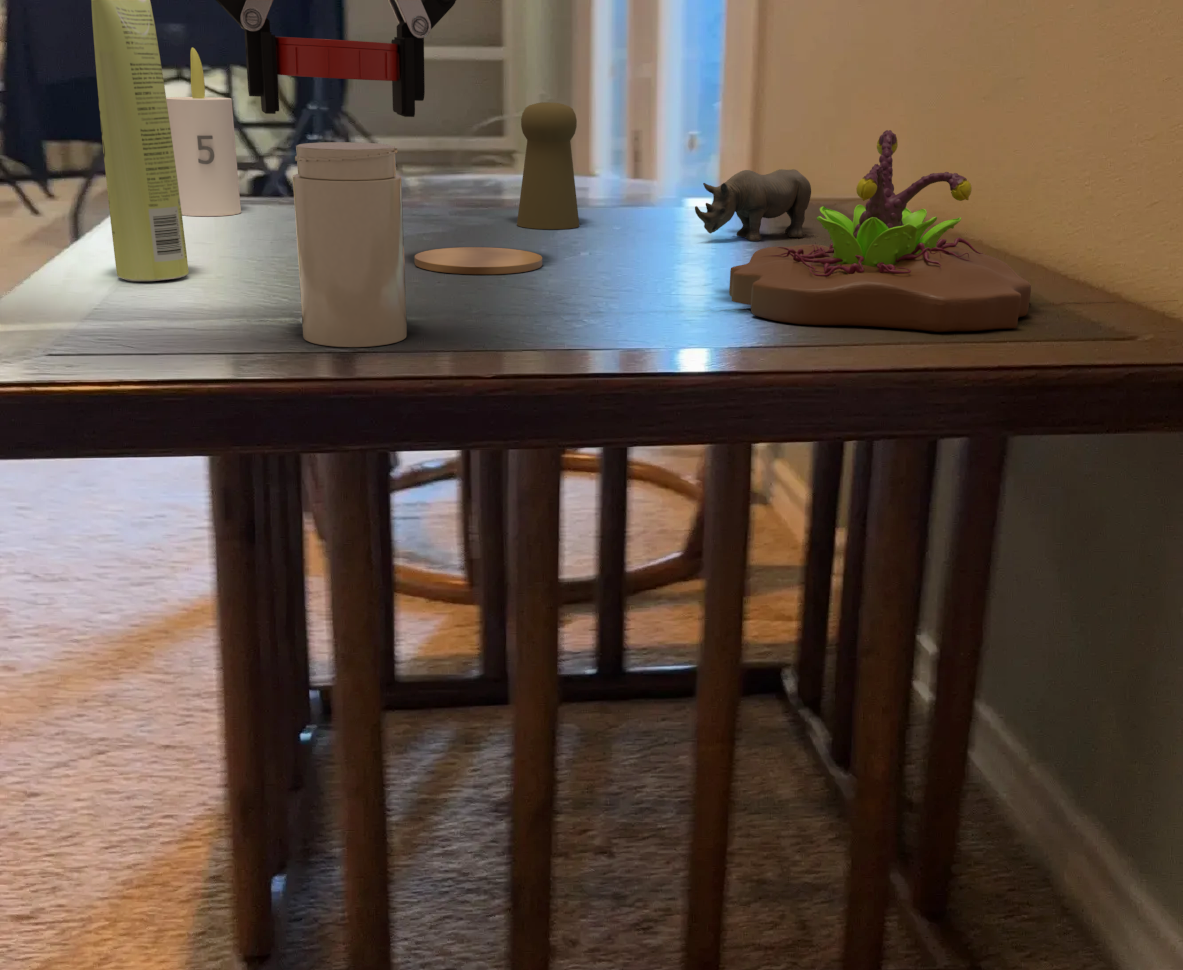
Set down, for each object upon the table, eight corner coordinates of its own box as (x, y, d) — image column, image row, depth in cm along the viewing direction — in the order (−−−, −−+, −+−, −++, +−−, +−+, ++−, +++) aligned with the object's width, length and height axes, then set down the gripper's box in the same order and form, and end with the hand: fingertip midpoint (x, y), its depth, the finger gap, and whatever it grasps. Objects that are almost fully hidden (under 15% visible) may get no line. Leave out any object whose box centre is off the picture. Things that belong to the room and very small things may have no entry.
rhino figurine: (677, 239, 116) (680, 170, 114) (790, 231, 124) (795, 165, 121) (705, 245, 113) (709, 174, 111) (820, 236, 121) (826, 169, 118)
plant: (1011, 287, 96) (1034, 128, 92) (1039, 340, 79) (1070, 146, 74) (744, 272, 100) (754, 119, 96) (714, 320, 82) (725, 134, 78)
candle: (177, 217, 123) (160, 46, 117) (172, 209, 129) (155, 46, 123) (245, 215, 125) (231, 48, 119) (237, 207, 131) (223, 47, 125)
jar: (304, 348, 72) (291, 149, 68) (302, 327, 78) (289, 141, 73) (411, 345, 74) (405, 150, 69) (402, 325, 79) (395, 142, 75)
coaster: (421, 275, 96) (421, 267, 95) (408, 255, 105) (408, 247, 104) (553, 273, 98) (553, 265, 98) (530, 253, 107) (530, 246, 106)
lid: (387, 79, 74) (387, 44, 73) (408, 81, 68) (408, 43, 67) (268, 73, 72) (266, 37, 71) (279, 75, 66) (277, 36, 65)
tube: (106, 273, 93) (68, -25, 86) (176, 268, 96) (145, -22, 88) (127, 285, 89) (90, -28, 81) (200, 280, 92) (170, -24, 84)
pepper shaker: (559, 230, 120) (560, 104, 116) (504, 225, 123) (504, 102, 118) (590, 224, 125) (593, 103, 121) (537, 219, 128) (538, 100, 123)
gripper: (477, -240, 70) (476, 113, 77) (138, -276, 64) (171, 106, 71) (512, -267, 63) (507, 121, 70) (138, -310, 58) (174, 114, 65)
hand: (337, 110), depth 71 cm, fingers closed on lid, 6 cm apart
